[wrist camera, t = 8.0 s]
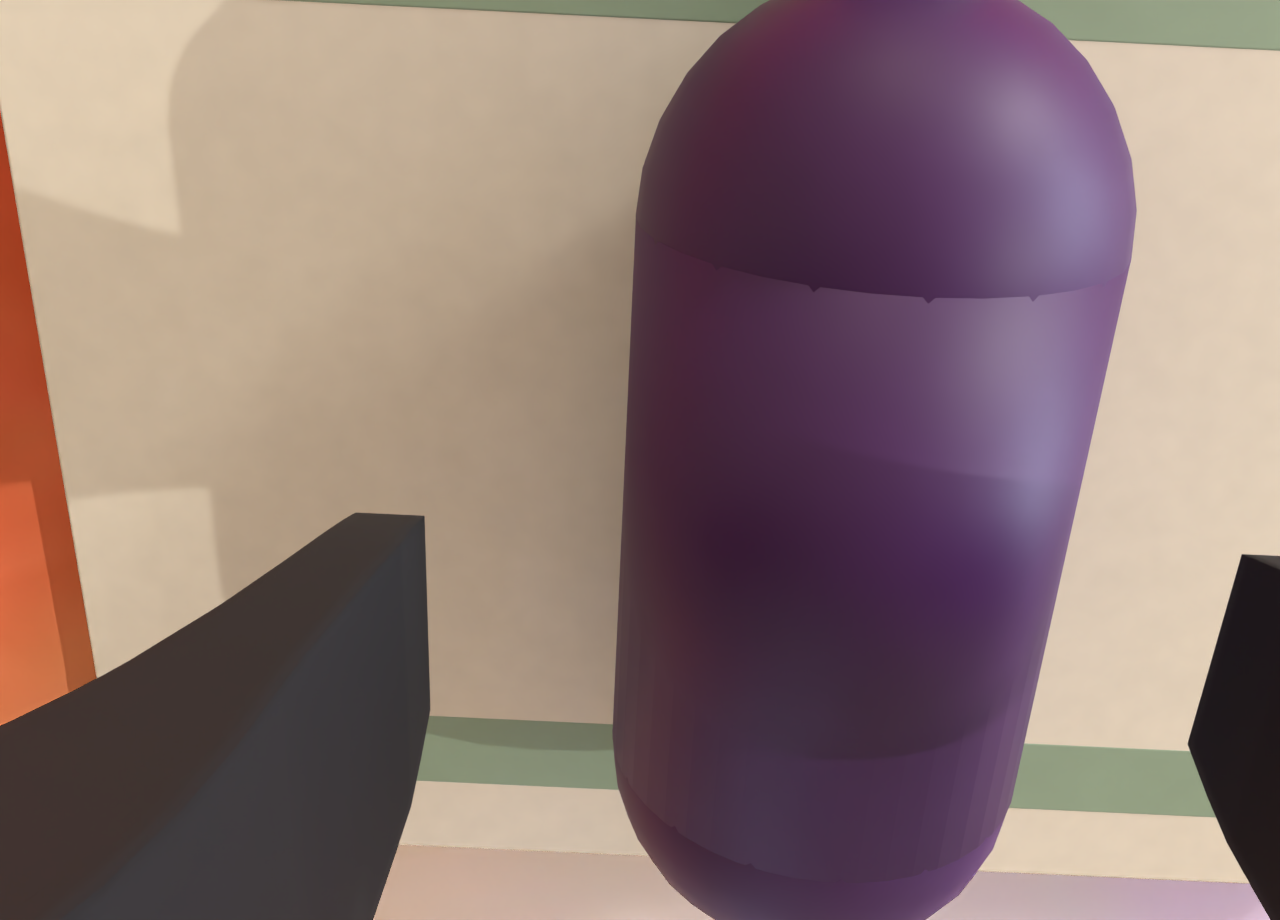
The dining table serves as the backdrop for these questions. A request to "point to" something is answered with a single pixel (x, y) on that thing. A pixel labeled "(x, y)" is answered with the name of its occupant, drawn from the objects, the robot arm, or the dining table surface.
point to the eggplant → (856, 443)
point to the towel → (582, 367)
